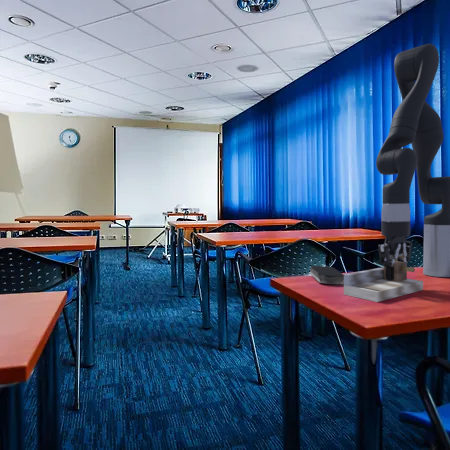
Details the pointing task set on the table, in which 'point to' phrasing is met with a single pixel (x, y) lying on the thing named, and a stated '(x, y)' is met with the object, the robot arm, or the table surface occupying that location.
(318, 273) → the black sponge
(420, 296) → the table surface
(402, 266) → the brown block with peg
